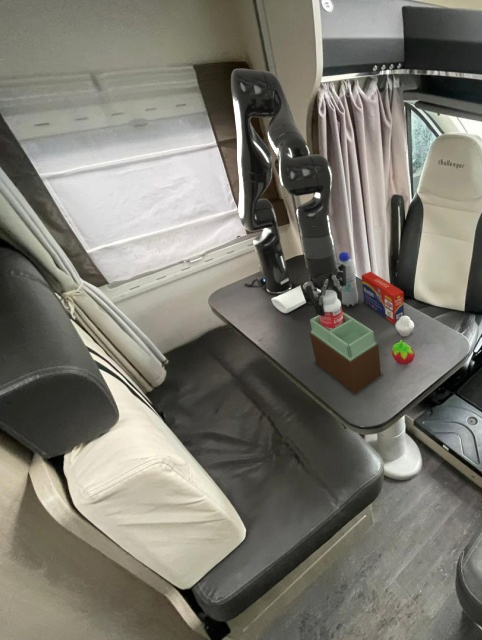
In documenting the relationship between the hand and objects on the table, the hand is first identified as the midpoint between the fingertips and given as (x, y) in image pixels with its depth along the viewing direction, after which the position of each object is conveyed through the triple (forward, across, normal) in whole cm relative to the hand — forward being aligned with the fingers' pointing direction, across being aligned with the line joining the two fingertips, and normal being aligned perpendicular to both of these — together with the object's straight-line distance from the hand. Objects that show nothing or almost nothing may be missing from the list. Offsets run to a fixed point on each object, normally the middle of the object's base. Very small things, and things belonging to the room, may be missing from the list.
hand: (329, 308), depth 97 cm
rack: (+20, +1, +4) cm, 21 cm away
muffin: (+20, -23, +9) cm, 32 cm away
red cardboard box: (+20, -29, -5) cm, 36 cm away
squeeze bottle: (+21, -19, -34) cm, 44 cm away
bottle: (+20, -27, -18) cm, 38 cm away
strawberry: (+20, -10, +17) cm, 28 cm away
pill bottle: (+7, 0, 0) cm, 7 cm away
